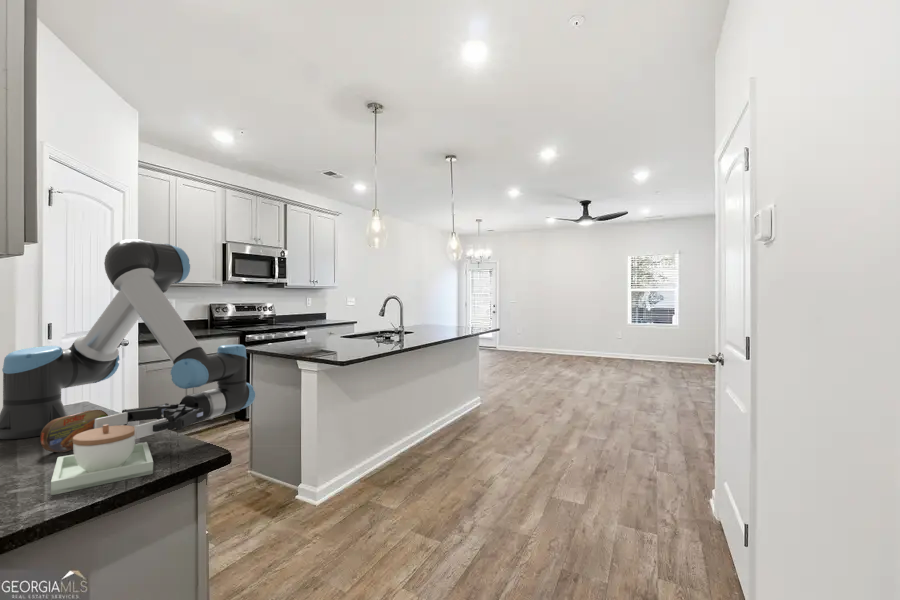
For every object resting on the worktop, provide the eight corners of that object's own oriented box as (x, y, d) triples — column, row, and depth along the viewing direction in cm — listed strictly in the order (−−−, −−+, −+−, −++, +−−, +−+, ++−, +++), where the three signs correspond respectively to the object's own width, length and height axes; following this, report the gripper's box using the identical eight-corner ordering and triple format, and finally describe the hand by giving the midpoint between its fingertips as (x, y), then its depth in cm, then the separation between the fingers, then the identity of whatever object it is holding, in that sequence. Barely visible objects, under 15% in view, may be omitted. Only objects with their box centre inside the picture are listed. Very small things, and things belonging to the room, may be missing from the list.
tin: (47, 457, 98) (47, 422, 98) (36, 456, 99) (37, 421, 99) (110, 437, 113) (111, 406, 113) (101, 436, 113) (102, 405, 113)
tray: (57, 468, 91) (57, 457, 91) (146, 452, 102) (147, 441, 102) (50, 495, 79) (50, 481, 79) (153, 473, 90) (153, 461, 90)
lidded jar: (134, 470, 89) (134, 427, 89) (67, 482, 83) (67, 435, 83) (137, 455, 98) (137, 415, 98) (77, 464, 92) (77, 422, 92)
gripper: (236, 425, 108) (153, 453, 88) (169, 415, 116) (80, 438, 96) (236, 396, 108) (153, 418, 88) (169, 388, 116) (80, 406, 96)
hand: (114, 428), depth 92 cm, fingers open, 13 cm apart
